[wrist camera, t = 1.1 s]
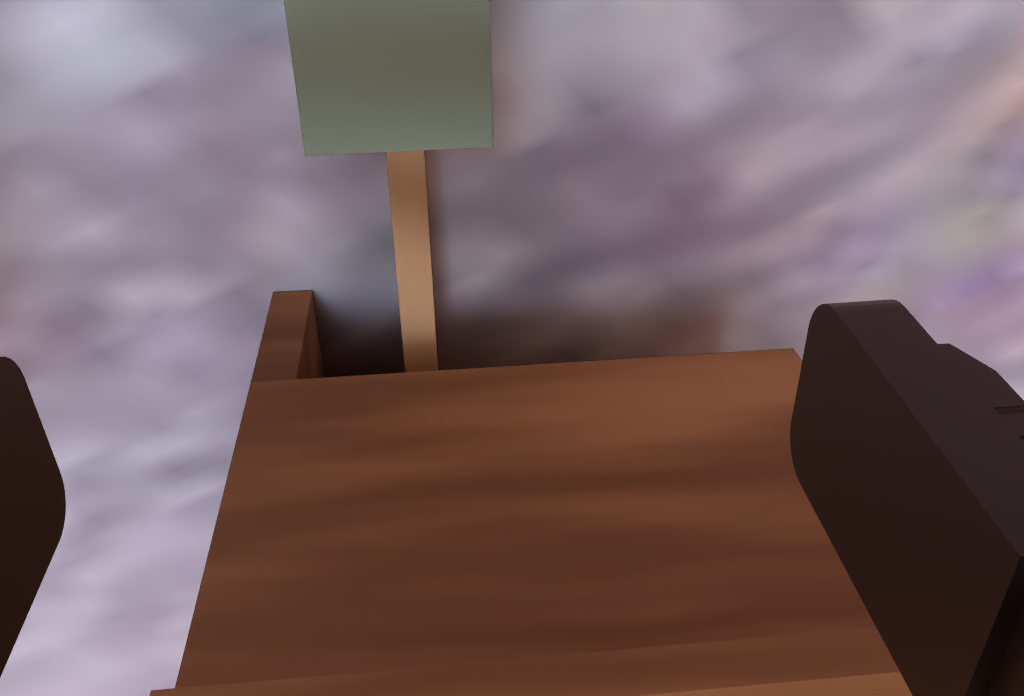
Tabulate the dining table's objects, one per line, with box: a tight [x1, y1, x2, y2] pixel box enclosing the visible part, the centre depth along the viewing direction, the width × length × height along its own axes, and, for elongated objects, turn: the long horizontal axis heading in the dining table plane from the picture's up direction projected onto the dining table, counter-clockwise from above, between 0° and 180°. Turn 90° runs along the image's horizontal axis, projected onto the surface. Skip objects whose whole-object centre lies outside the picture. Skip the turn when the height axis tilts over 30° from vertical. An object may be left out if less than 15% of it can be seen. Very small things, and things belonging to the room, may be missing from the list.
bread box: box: [150, 290, 912, 696], centre depth 27 cm, size 15×16×16 cm
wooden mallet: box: [284, 0, 493, 373], centre depth 26 cm, size 22×4×7 cm, turn 0°
